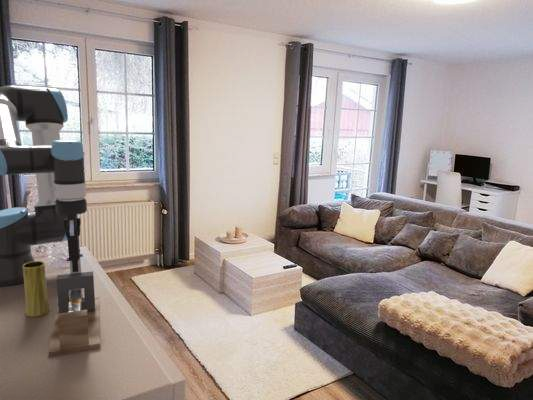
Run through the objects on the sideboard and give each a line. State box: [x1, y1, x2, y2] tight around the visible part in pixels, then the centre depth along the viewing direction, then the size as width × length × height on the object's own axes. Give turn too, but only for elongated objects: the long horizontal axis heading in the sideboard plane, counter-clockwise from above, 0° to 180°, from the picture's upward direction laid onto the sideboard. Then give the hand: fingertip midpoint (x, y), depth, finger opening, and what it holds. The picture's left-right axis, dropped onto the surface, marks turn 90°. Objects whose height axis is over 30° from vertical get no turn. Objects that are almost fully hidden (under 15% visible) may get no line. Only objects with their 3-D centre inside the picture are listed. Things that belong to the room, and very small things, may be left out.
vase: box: [22, 260, 51, 318], centre depth 111 cm, size 6×6×14 cm
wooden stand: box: [47, 293, 101, 358], centre depth 105 cm, size 27×11×9 cm, turn 23°
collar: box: [55, 271, 96, 313], centre depth 109 cm, size 3×9×10 cm, turn 113°
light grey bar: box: [68, 289, 83, 312], centre depth 105 cm, size 22×3×3 cm, turn 23°
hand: (76, 281), depth 111 cm, fingers closed
